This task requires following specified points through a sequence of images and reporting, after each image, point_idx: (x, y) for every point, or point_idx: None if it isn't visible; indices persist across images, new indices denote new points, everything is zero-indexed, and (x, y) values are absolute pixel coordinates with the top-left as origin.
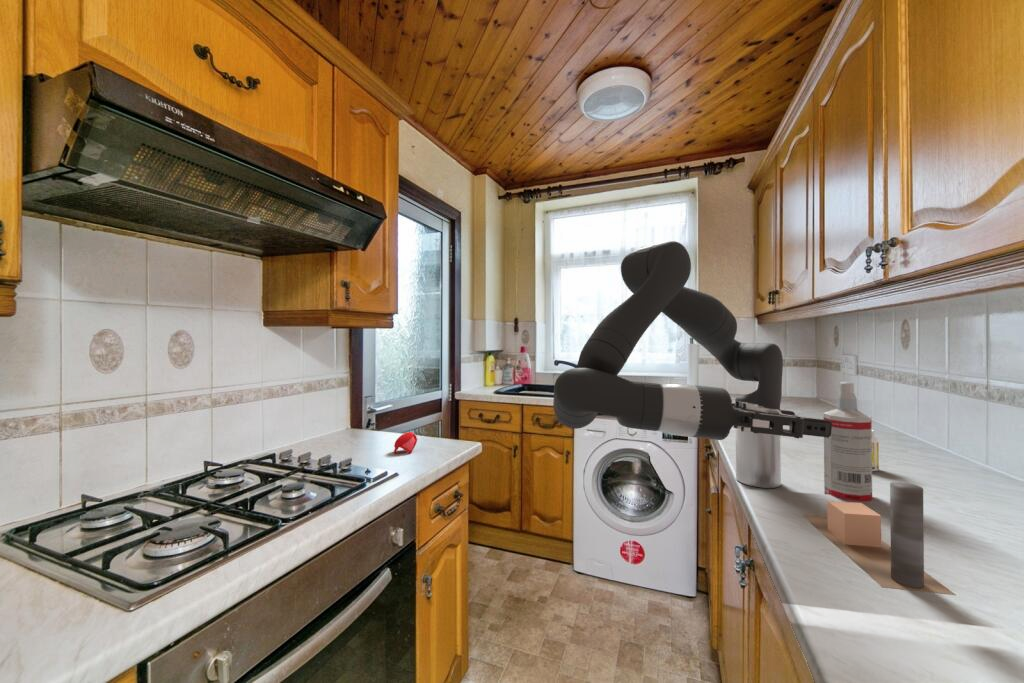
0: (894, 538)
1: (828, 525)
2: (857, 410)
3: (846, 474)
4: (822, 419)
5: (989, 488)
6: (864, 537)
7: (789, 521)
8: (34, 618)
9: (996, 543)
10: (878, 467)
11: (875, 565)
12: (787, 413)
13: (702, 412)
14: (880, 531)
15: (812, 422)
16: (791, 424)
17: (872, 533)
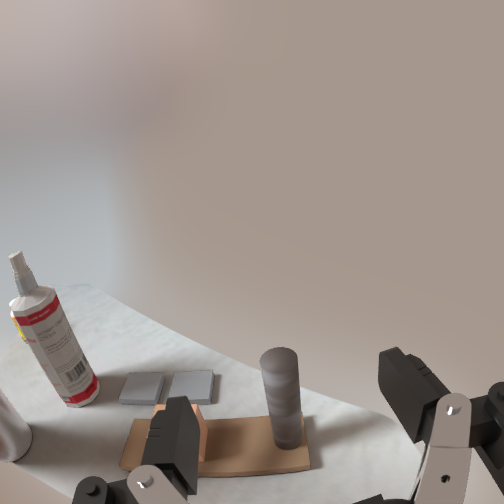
0: (289, 421)
1: None
2: (37, 285)
3: (73, 370)
4: (392, 357)
5: (94, 299)
6: (203, 437)
7: None
8: None
9: (177, 342)
10: None
11: (256, 453)
12: (184, 415)
13: None
14: (202, 417)
15: (439, 381)
16: (491, 428)
17: (202, 426)
